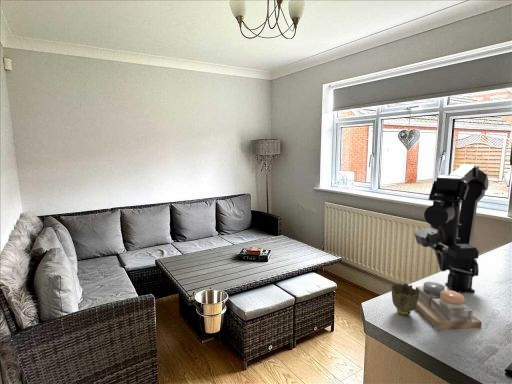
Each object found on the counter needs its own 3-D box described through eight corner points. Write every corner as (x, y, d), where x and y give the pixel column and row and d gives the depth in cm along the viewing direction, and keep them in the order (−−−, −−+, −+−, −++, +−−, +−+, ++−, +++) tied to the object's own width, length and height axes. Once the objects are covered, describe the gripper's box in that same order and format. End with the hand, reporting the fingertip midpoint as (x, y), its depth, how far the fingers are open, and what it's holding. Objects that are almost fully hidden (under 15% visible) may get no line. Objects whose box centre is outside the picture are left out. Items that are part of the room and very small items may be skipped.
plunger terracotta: (453, 304, 89) (454, 289, 88) (467, 314, 83) (469, 299, 83) (434, 304, 89) (436, 290, 88) (447, 315, 83) (449, 299, 83)
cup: (384, 309, 93) (385, 284, 92) (402, 305, 95) (404, 281, 94) (403, 322, 86) (405, 296, 85) (423, 317, 88) (425, 291, 87)
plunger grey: (436, 294, 97) (437, 281, 96) (447, 303, 92) (449, 289, 91) (418, 295, 97) (419, 281, 96) (429, 303, 91) (430, 290, 91)
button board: (442, 299, 99) (444, 285, 98) (480, 328, 83) (482, 311, 82) (406, 300, 98) (407, 285, 98) (437, 330, 82) (439, 312, 82)
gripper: (402, 213, 97) (399, 260, 99) (441, 229, 78) (437, 286, 81) (436, 212, 97) (432, 258, 100) (483, 228, 79) (477, 284, 82)
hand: (442, 270), depth 91 cm, fingers closed
